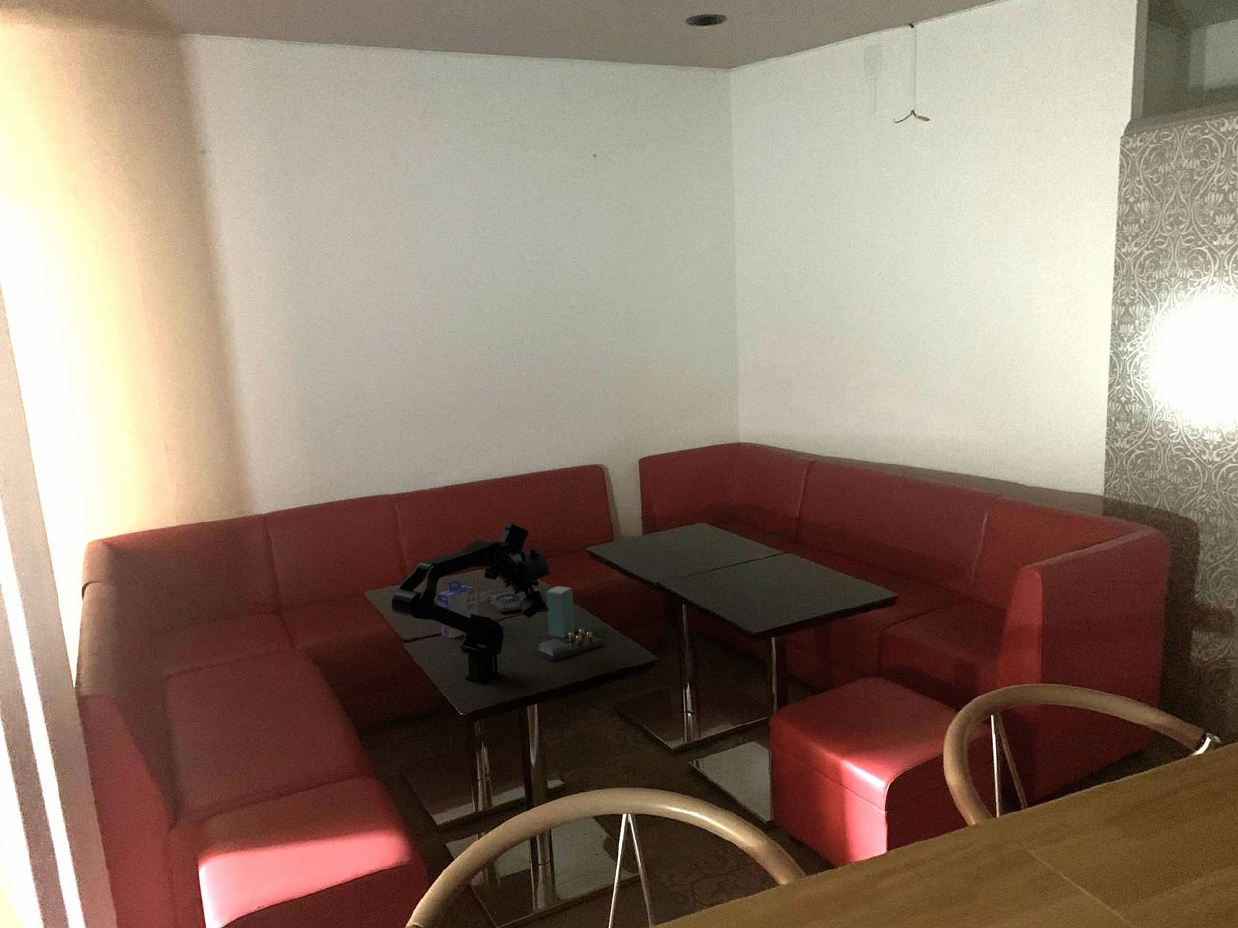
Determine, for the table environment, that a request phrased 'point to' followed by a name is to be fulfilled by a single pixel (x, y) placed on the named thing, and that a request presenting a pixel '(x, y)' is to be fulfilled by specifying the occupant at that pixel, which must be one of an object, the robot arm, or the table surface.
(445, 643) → the table surface
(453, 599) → the ink cartridge box
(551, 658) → the chassis
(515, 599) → the graphics card
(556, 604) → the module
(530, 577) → the robot arm
